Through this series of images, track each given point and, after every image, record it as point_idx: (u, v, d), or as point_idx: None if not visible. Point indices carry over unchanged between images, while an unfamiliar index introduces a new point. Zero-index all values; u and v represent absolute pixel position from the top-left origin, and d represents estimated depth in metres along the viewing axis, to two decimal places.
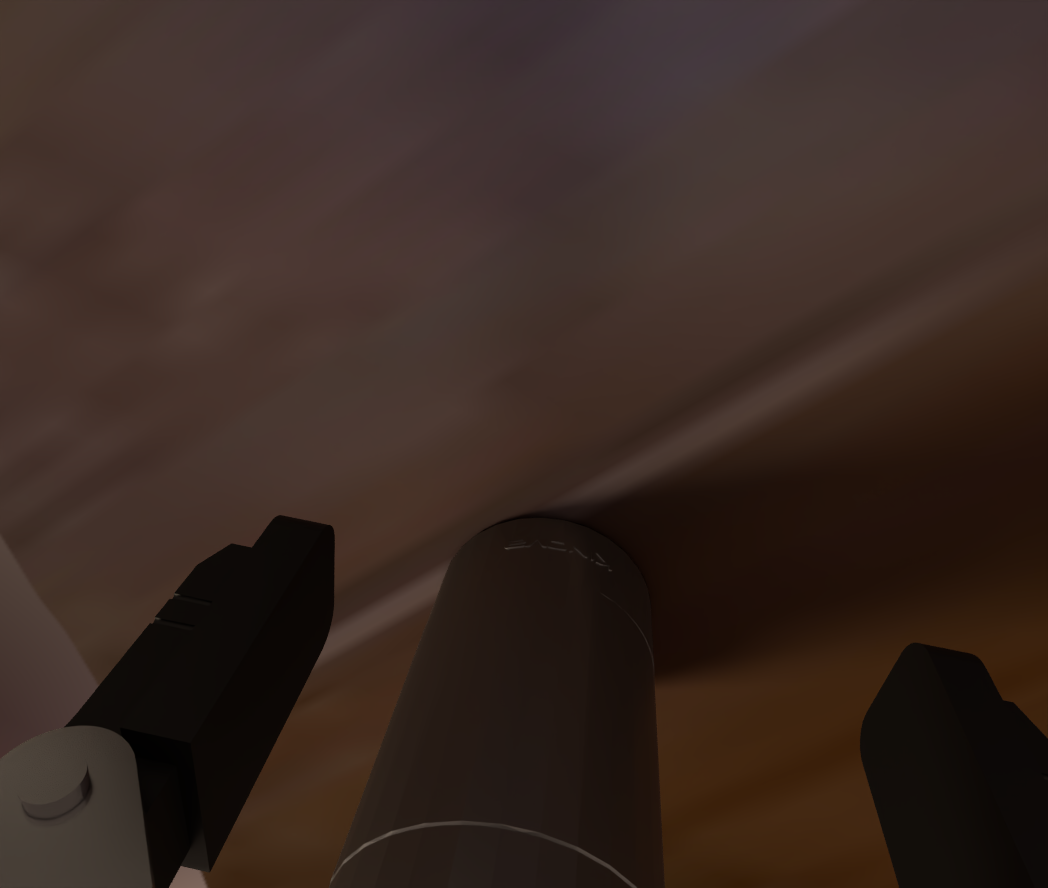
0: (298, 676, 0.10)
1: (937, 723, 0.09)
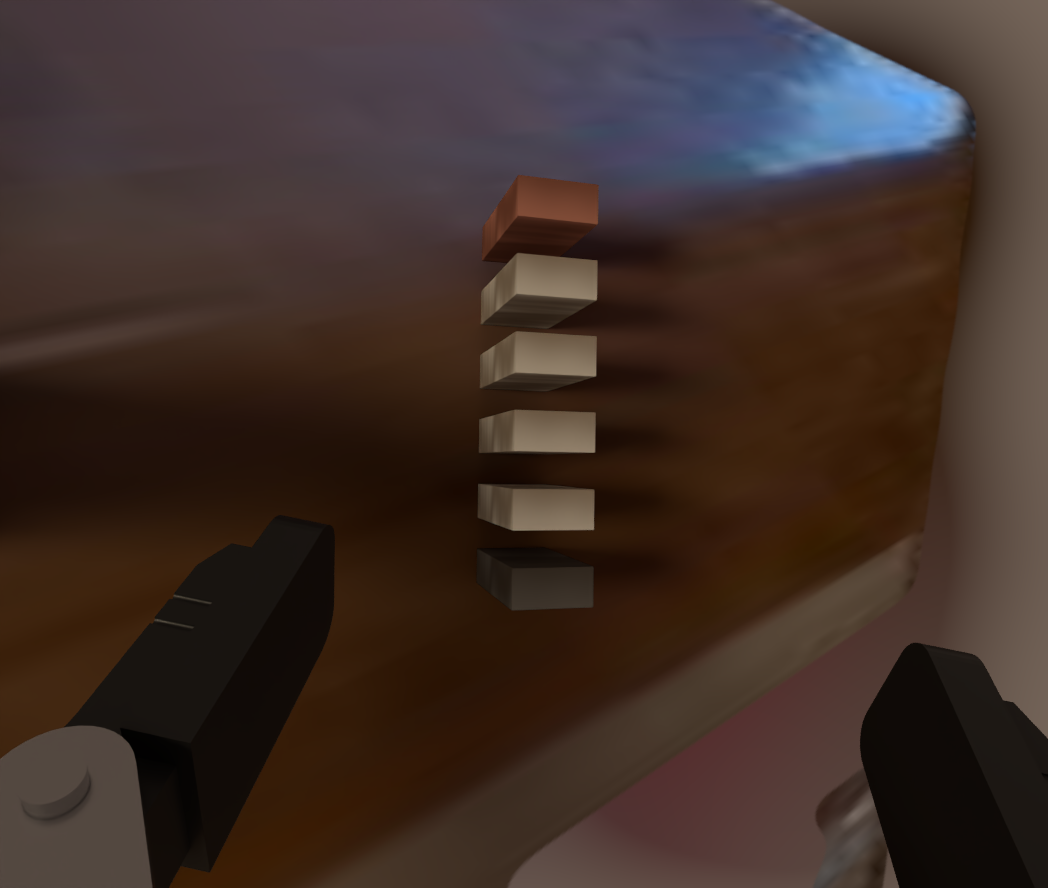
0: (298, 676, 0.10)
1: (937, 723, 0.09)
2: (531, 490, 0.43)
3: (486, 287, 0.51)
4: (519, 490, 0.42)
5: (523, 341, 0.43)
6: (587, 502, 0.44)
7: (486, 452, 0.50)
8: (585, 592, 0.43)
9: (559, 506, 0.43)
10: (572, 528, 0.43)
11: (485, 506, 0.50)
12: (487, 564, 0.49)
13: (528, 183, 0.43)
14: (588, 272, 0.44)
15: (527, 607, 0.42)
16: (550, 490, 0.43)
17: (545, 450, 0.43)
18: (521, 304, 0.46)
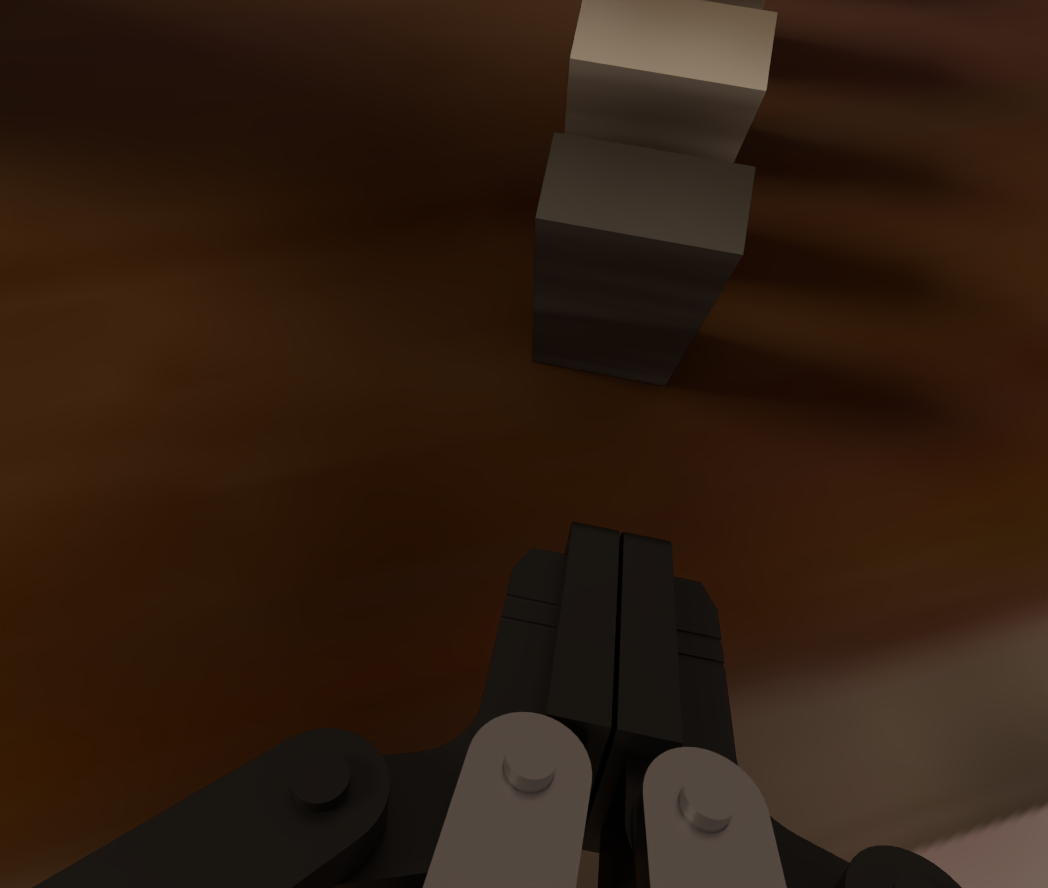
0: None
1: (617, 594, 0.10)
2: None
3: None
4: None
5: None
6: (757, 34, 0.19)
7: None
8: (727, 218, 0.17)
9: (688, 30, 0.19)
10: (713, 79, 0.18)
11: None
12: None
13: None
14: None
15: (575, 220, 0.17)
16: None
17: None
18: None
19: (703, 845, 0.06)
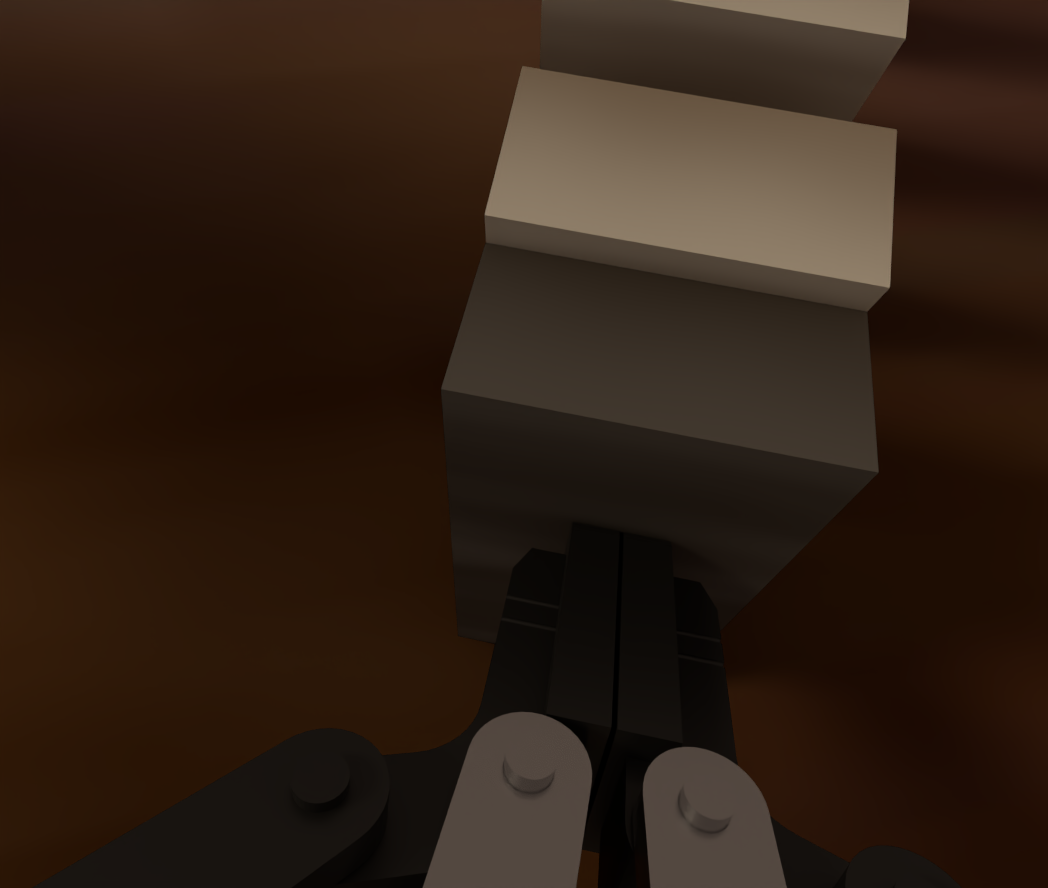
0: None
1: (617, 594, 0.10)
2: (601, 85, 0.10)
3: None
4: (548, 75, 0.10)
5: None
6: (861, 171, 0.09)
7: None
8: (832, 399, 0.09)
9: (724, 162, 0.09)
10: (778, 261, 0.09)
11: None
12: None
13: None
14: None
15: (523, 395, 0.08)
16: (688, 99, 0.10)
17: None
18: None
19: (703, 845, 0.06)
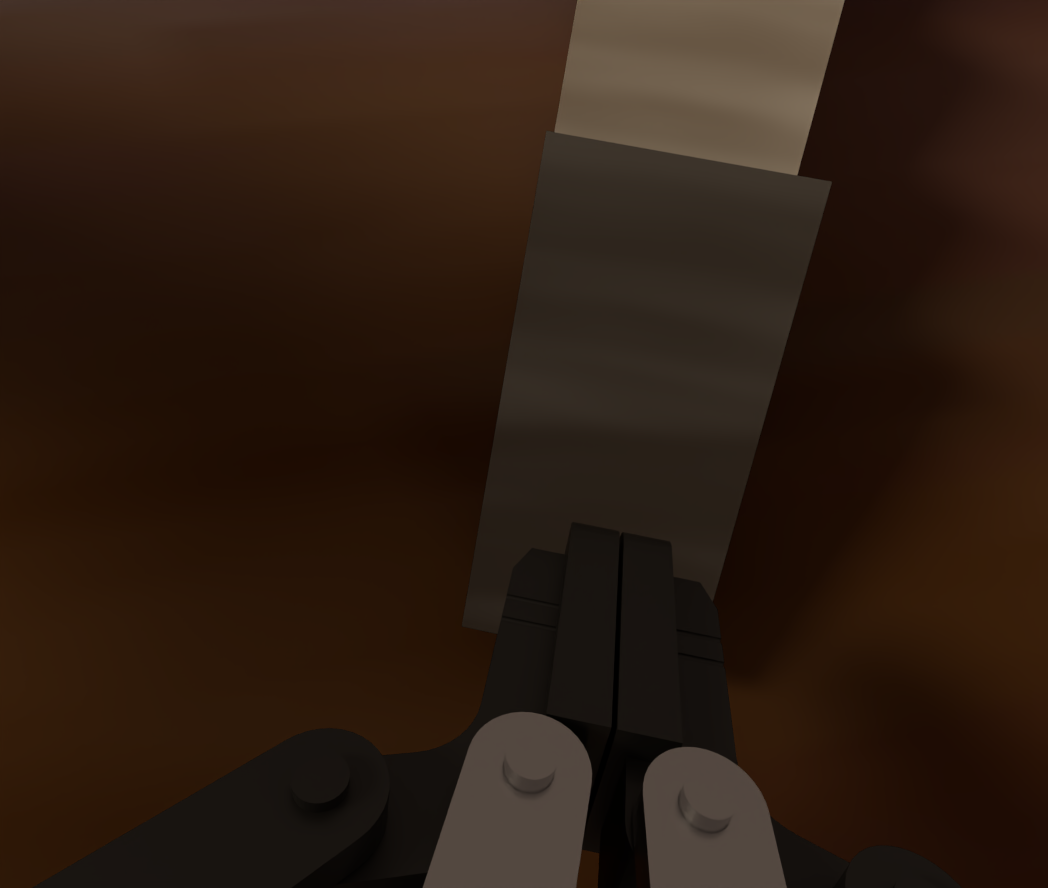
0: None
1: (616, 594, 0.10)
2: None
3: None
4: None
5: None
6: None
7: None
8: None
9: None
10: None
11: None
12: None
13: None
14: None
15: (599, 141, 0.13)
16: None
17: None
18: None
19: (703, 845, 0.06)
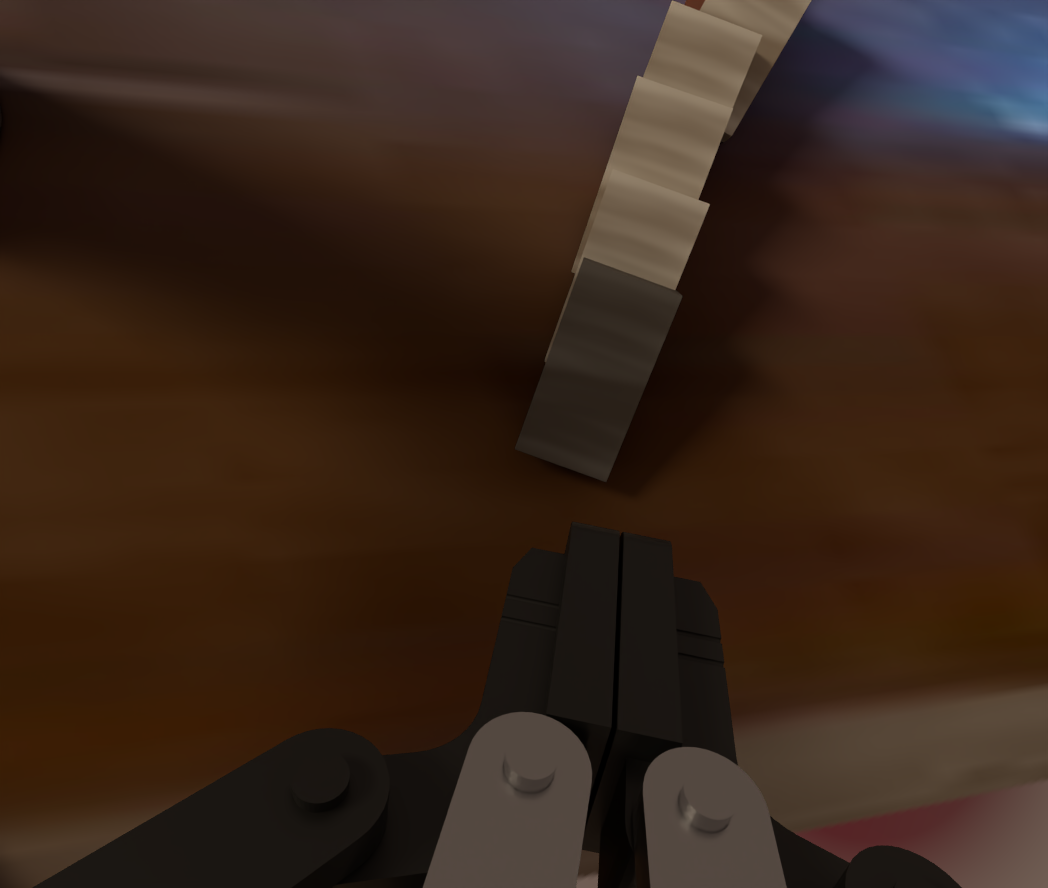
0: None
1: (617, 594, 0.10)
2: None
3: None
4: None
5: None
6: None
7: (586, 228, 0.39)
8: (671, 290, 0.35)
9: None
10: (683, 194, 0.35)
11: None
12: None
13: None
14: None
15: (601, 266, 0.34)
16: None
17: (673, 88, 0.36)
18: None
19: (704, 845, 0.06)
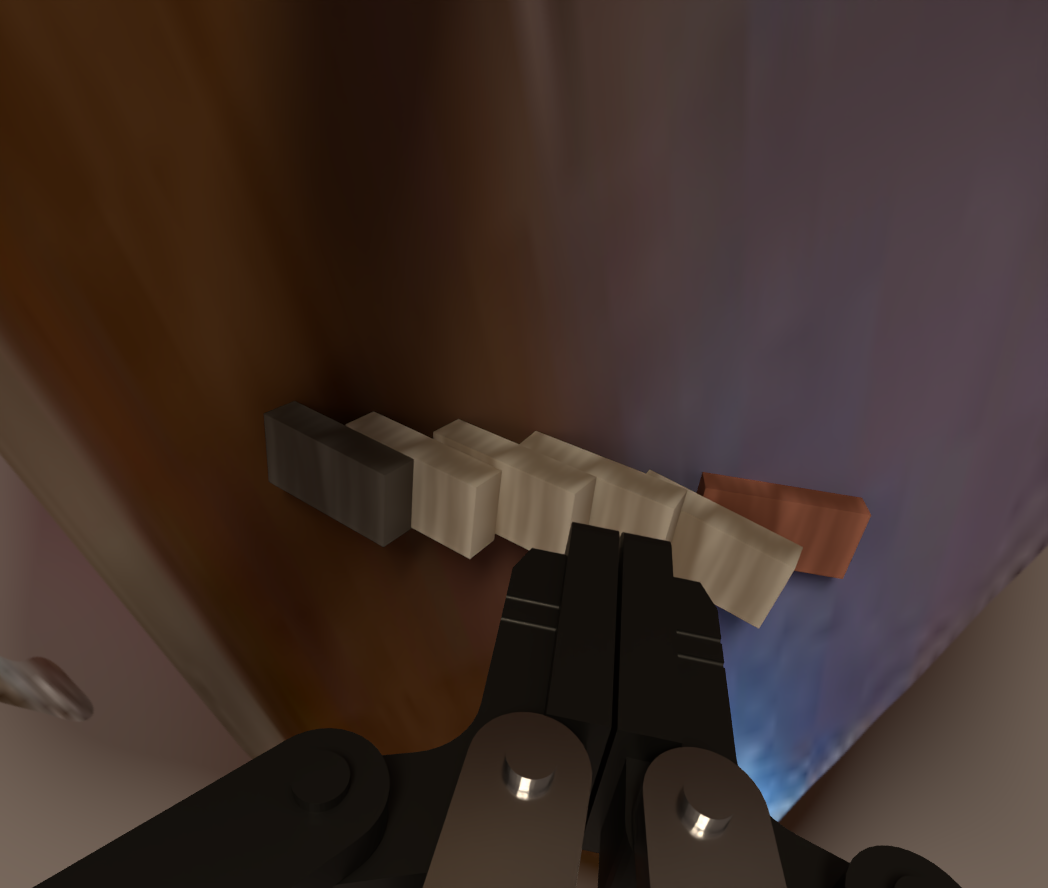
0: None
1: (617, 594, 0.10)
2: (499, 486, 0.42)
3: (673, 482, 0.45)
4: (500, 476, 0.42)
5: (682, 500, 0.42)
6: (487, 540, 0.44)
7: (464, 445, 0.43)
8: (394, 533, 0.43)
9: (487, 518, 0.43)
10: (472, 539, 0.42)
11: (386, 433, 0.44)
12: (324, 423, 0.44)
13: None
14: None
15: (386, 488, 0.41)
16: (497, 503, 0.43)
17: (571, 522, 0.40)
18: (742, 558, 0.42)
19: (703, 845, 0.06)
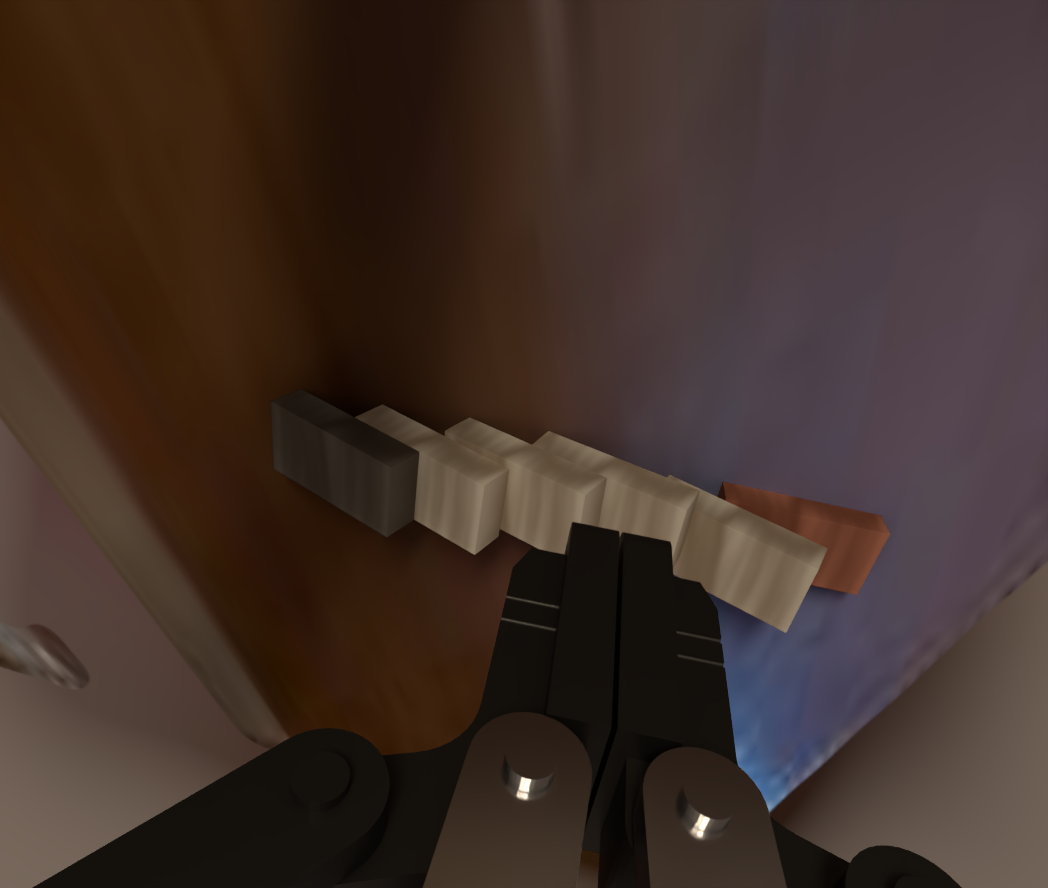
0: None
1: (617, 594, 0.10)
2: (505, 485, 0.43)
3: (693, 486, 0.45)
4: (507, 474, 0.42)
5: (695, 501, 0.42)
6: (491, 536, 0.44)
7: (475, 445, 0.43)
8: (397, 524, 0.44)
9: (493, 515, 0.43)
10: (478, 536, 0.42)
11: (395, 427, 0.44)
12: (331, 412, 0.45)
13: None
14: None
15: (391, 480, 0.41)
16: (503, 501, 0.43)
17: (581, 522, 0.41)
18: (765, 560, 0.42)
19: (703, 845, 0.06)
